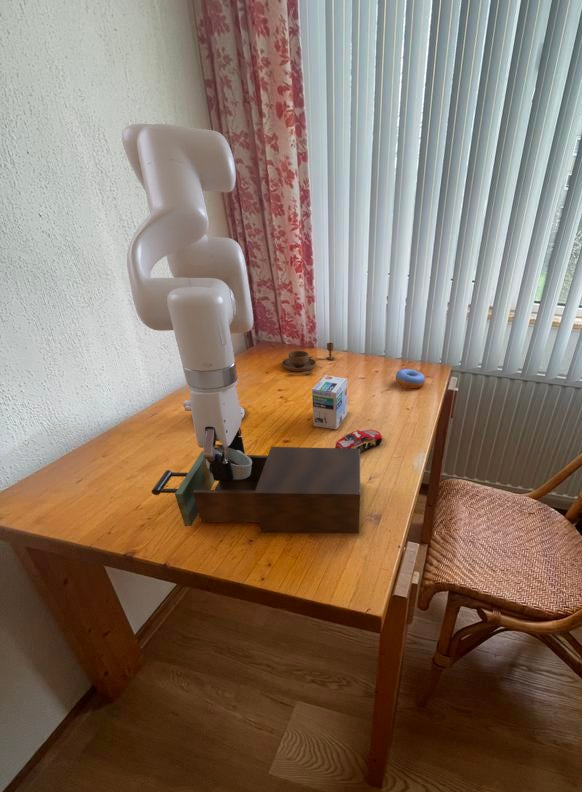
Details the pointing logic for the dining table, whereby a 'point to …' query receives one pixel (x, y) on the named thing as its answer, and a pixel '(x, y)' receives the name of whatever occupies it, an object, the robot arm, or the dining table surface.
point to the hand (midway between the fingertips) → (230, 466)
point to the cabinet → (309, 491)
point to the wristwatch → (239, 458)
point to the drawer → (215, 493)
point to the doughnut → (410, 378)
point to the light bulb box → (329, 402)
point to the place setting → (303, 361)
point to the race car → (360, 440)
